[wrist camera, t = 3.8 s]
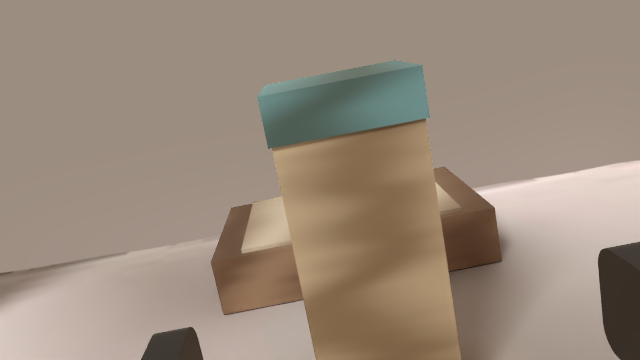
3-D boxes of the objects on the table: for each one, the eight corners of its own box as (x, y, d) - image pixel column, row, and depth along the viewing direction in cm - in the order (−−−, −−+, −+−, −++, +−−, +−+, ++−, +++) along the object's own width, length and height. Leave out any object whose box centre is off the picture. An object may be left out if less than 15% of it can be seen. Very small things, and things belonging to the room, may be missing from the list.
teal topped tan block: (328, 435, 19) (257, 96, 17) (321, 360, 24) (264, 85, 22) (472, 408, 19) (422, 64, 17) (438, 338, 24) (394, 60, 22)
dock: (223, 314, 30) (210, 258, 29) (240, 248, 40) (230, 204, 39) (501, 261, 30) (493, 203, 29) (450, 207, 40) (444, 163, 39)
